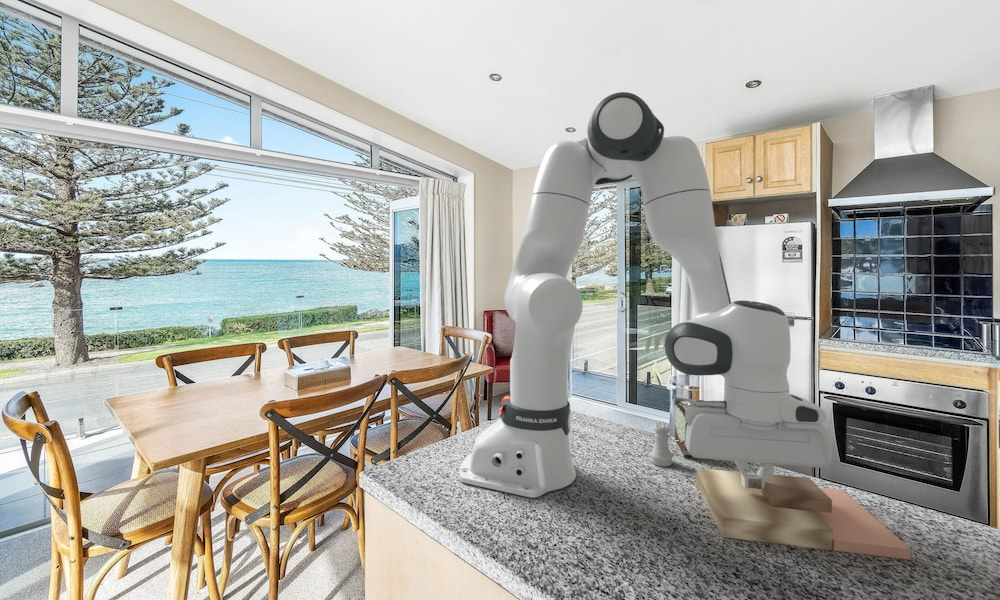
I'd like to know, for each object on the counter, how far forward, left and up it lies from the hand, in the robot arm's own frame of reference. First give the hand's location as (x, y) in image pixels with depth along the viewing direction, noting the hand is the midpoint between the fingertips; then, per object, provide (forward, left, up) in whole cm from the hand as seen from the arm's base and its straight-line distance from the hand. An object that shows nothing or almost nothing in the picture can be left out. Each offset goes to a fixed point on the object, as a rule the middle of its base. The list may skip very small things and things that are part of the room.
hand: (752, 486), depth 68 cm
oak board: (0, 0, -4) cm, 4 cm away
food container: (-4, +24, -5) cm, 25 cm away
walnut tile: (+5, 0, -1) cm, 6 cm away
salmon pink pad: (+12, 0, -4) cm, 13 cm away
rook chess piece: (-12, +16, -4) cm, 20 cm away
